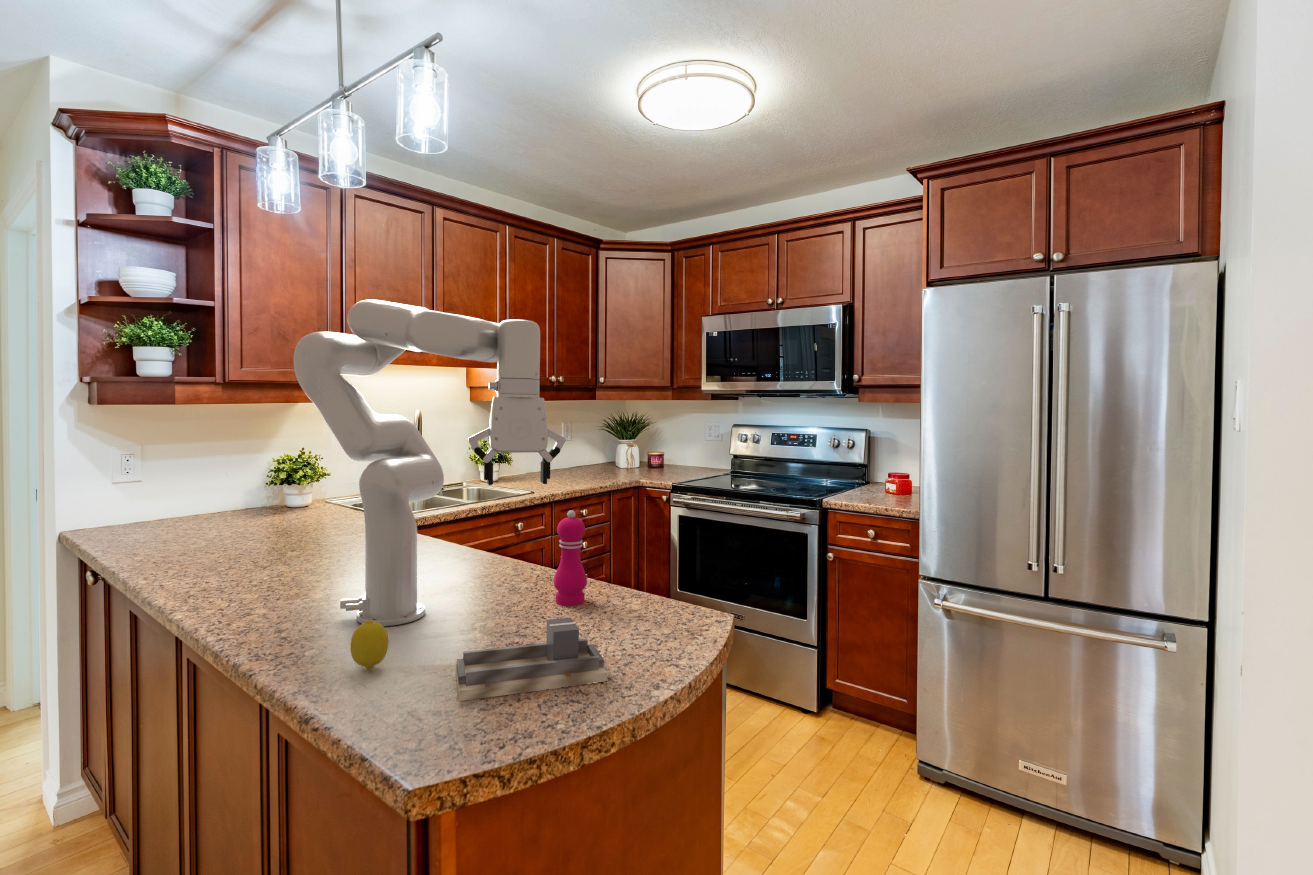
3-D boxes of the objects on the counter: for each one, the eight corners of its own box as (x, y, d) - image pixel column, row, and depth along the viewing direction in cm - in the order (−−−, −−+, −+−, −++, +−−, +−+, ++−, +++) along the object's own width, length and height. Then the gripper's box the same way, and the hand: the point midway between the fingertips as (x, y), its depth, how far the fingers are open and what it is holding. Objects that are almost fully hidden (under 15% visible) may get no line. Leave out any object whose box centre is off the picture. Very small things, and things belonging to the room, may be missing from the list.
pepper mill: (580, 607, 135) (582, 513, 134) (548, 605, 137) (549, 512, 136) (590, 597, 143) (592, 508, 142) (560, 595, 144) (561, 506, 143)
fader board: (459, 700, 92) (459, 677, 92) (456, 670, 103) (456, 649, 102) (607, 681, 100) (607, 659, 100) (590, 655, 110) (590, 635, 110)
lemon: (358, 662, 105) (358, 614, 105) (393, 662, 105) (393, 614, 105) (344, 676, 99) (344, 626, 99) (381, 676, 100) (381, 625, 100)
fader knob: (552, 669, 99) (553, 631, 99) (546, 655, 105) (546, 619, 104) (578, 666, 101) (579, 628, 100) (570, 653, 106) (571, 616, 106)
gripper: (469, 387, 109) (469, 487, 110) (570, 390, 115) (568, 485, 116) (467, 388, 116) (466, 482, 117) (561, 391, 122) (560, 480, 123)
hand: (517, 483), depth 117 cm, fingers open, 9 cm apart
